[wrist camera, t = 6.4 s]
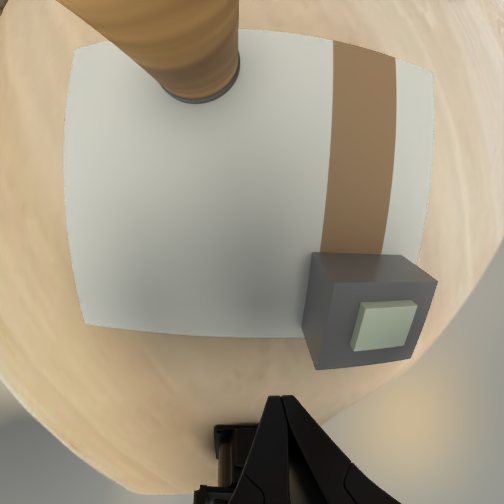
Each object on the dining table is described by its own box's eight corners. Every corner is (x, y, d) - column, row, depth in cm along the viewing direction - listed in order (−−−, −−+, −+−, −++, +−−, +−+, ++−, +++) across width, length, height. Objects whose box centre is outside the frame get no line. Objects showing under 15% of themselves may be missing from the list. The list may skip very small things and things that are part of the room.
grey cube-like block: (383, 323, 17) (414, 364, 13) (301, 327, 17) (318, 377, 13) (401, 255, 16) (444, 286, 11) (311, 252, 15) (339, 288, 11)
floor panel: (389, 322, 19) (396, 331, 18) (91, 315, 17) (84, 323, 16) (422, 75, 13) (433, 72, 12) (83, 54, 12) (75, 49, 11)
